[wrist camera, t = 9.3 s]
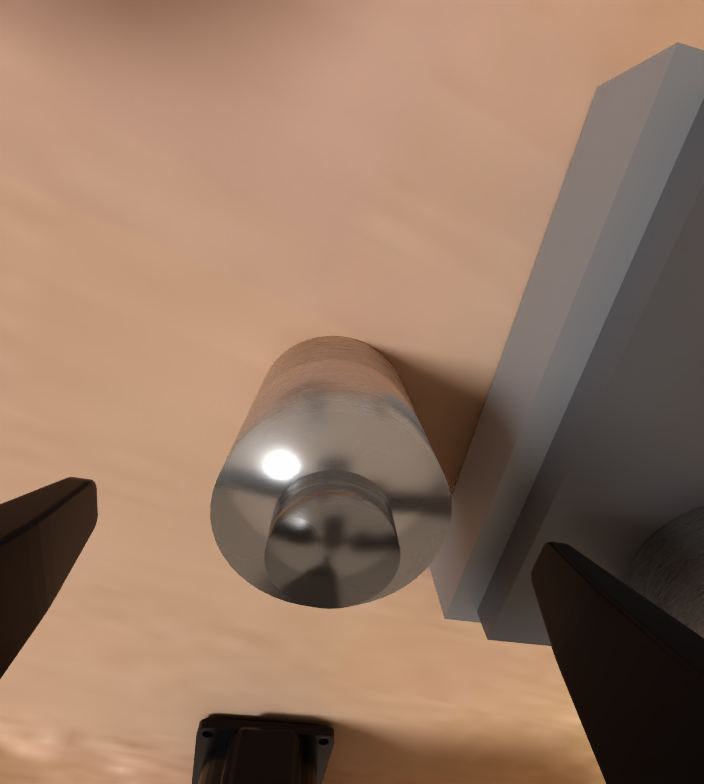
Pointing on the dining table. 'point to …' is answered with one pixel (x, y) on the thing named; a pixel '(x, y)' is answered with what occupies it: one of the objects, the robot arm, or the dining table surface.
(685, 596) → the weight
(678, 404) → the scale
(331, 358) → the weight
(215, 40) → the dining table surface
